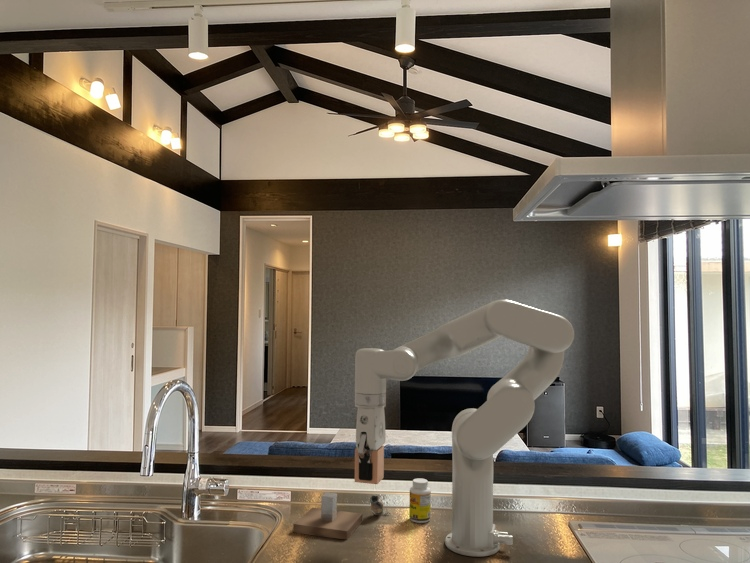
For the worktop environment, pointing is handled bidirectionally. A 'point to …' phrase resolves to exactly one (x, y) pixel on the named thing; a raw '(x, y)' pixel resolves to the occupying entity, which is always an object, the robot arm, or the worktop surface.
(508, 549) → the worktop surface
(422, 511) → the supplement bottle
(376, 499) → the bird figurine
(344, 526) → the walnut base board
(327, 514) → the metal post
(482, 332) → the robot arm
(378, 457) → the peach upright block
